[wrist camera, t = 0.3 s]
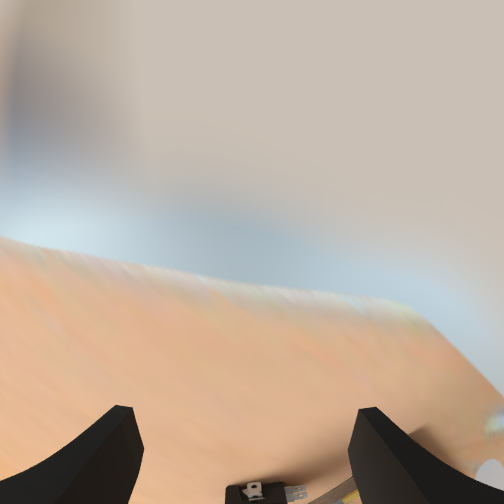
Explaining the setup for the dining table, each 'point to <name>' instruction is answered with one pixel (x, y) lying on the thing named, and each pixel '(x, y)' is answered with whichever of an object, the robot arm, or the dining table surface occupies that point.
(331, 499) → the frame
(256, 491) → the push button
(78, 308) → the dining table surface
